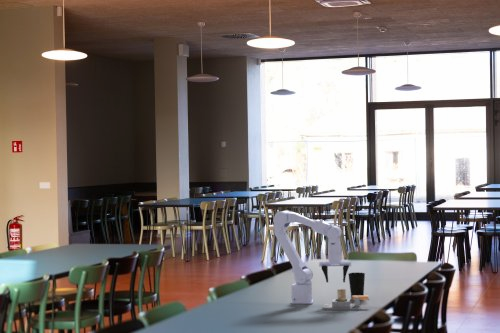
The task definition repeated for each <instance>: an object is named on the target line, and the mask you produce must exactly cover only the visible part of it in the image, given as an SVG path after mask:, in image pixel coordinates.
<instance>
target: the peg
mask: <svg viewBox="0 0 500 333" xmlns="http://www.w3.org/2000/svg"><path fill="white" fill-rule="evenodd" d="M346 291H347V290H346V289H345V288H341V289H340V288H339V289H337V292H336V293H337V299H338V301H346V299H347V297H346V296H347V295H346V294H347V293H346Z"/></svg>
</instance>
